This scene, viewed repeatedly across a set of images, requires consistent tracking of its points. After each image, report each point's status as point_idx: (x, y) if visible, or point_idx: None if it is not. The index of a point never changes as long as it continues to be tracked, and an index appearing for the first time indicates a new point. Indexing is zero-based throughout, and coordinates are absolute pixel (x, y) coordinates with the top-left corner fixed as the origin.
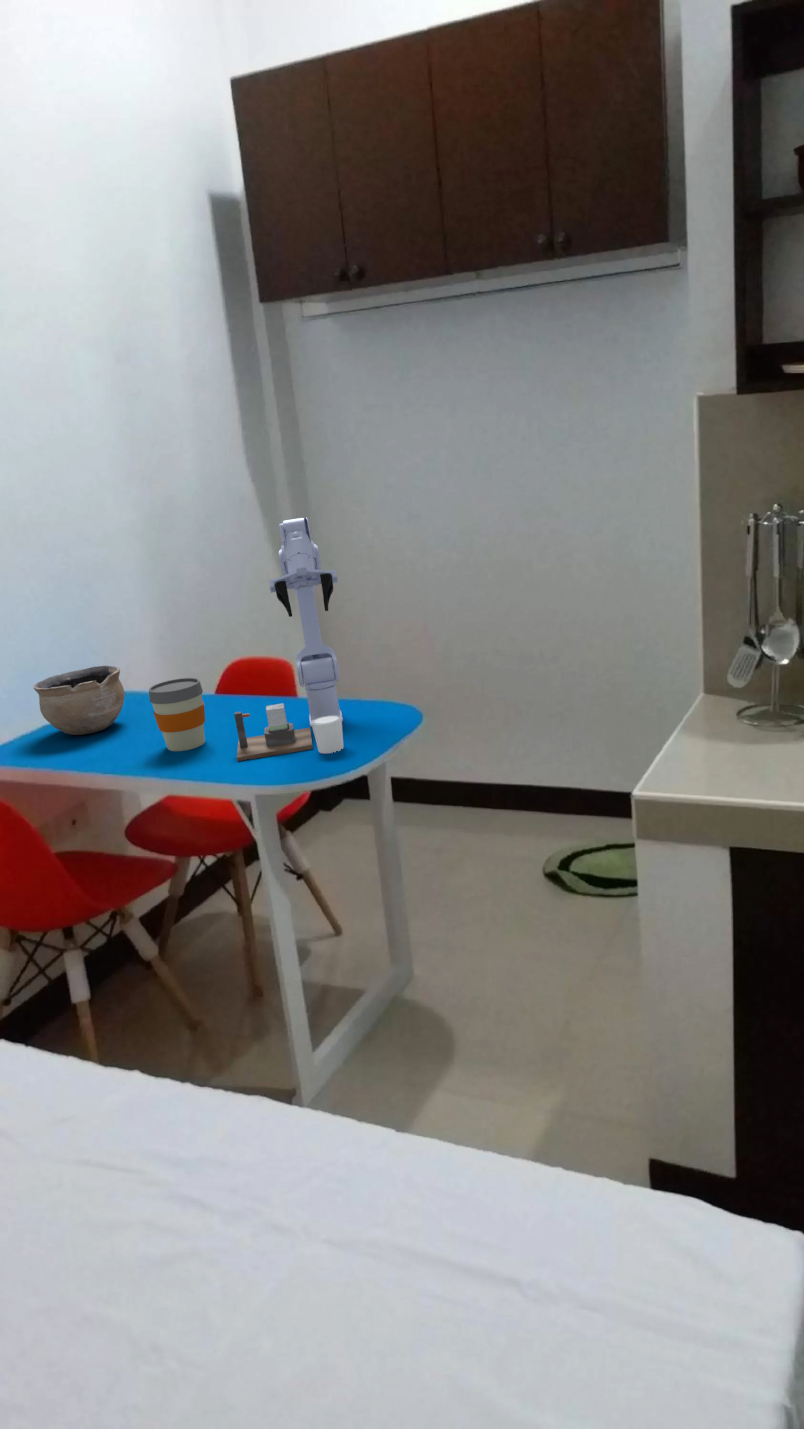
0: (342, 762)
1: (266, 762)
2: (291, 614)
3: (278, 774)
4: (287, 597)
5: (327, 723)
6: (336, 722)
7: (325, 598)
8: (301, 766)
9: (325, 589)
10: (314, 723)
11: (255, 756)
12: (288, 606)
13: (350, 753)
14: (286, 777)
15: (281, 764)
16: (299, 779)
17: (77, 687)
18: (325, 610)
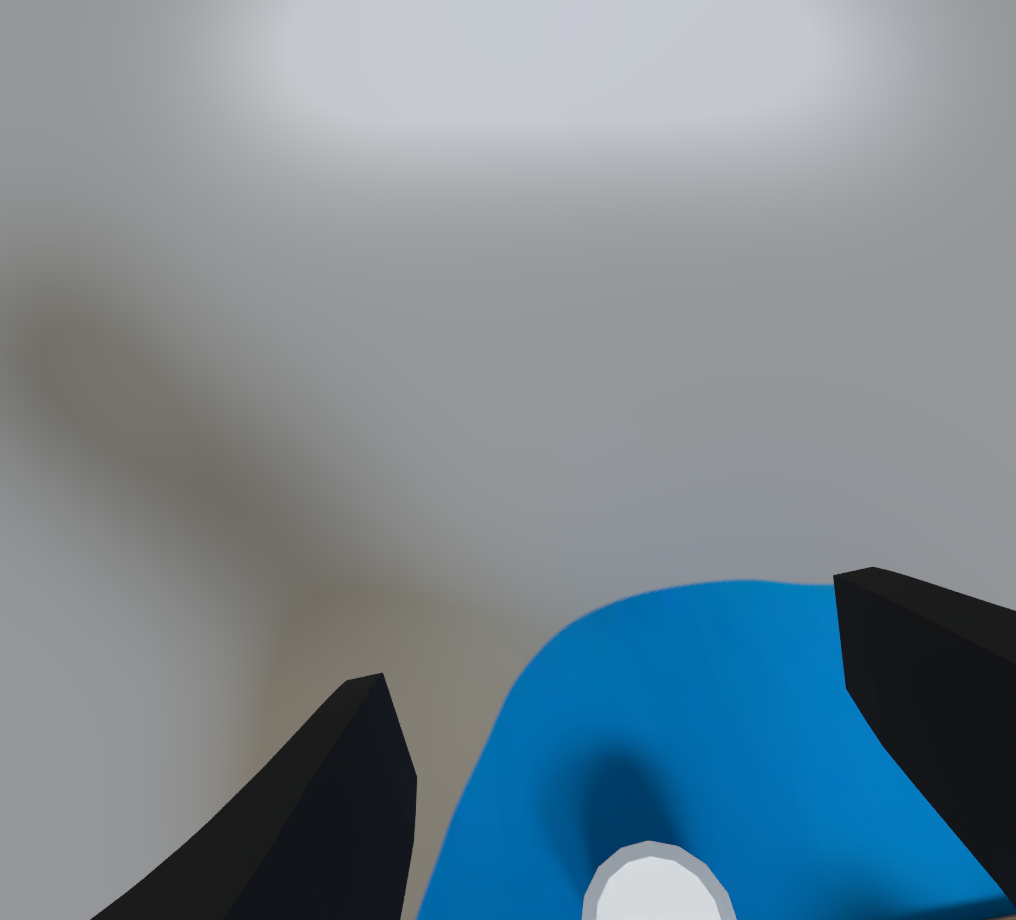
0: (575, 721)
1: (916, 830)
2: (847, 649)
3: (793, 660)
4: (1010, 650)
5: (636, 850)
6: (597, 869)
7: (320, 718)
8: (728, 724)
9: (225, 833)
10: (707, 878)
11: (1012, 915)
12: (898, 583)
13: (560, 824)
14: (749, 621)
15: (827, 777)
16: (694, 591)
17: None
18: (407, 767)
